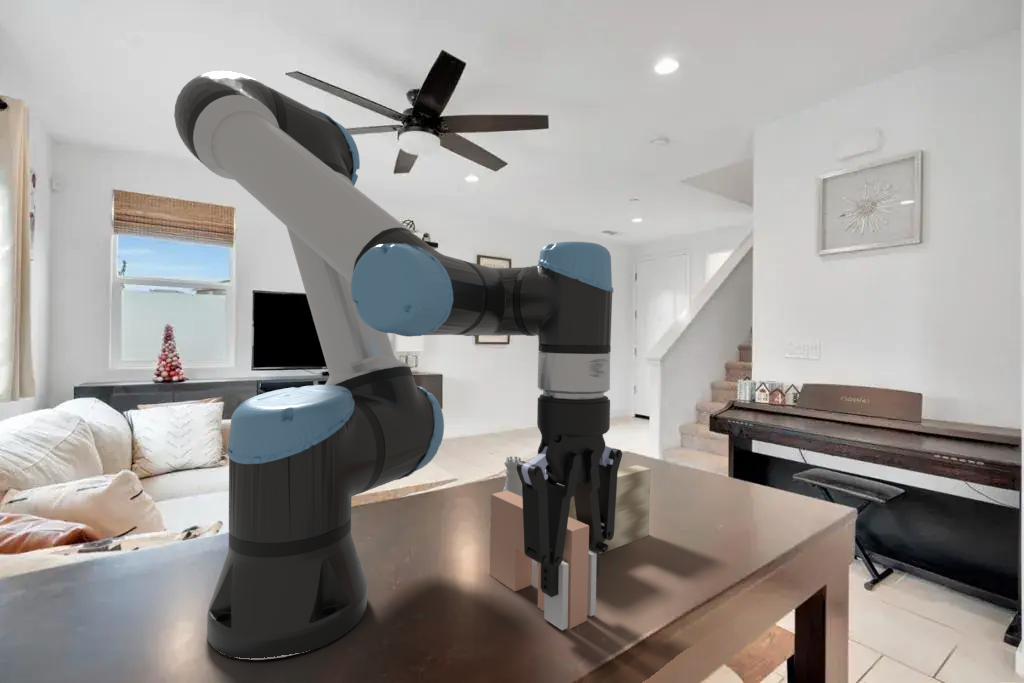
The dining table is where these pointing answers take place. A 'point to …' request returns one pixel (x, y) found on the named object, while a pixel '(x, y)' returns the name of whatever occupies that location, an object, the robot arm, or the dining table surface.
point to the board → (628, 506)
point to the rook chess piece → (512, 476)
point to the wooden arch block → (517, 567)
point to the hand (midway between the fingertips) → (570, 615)
